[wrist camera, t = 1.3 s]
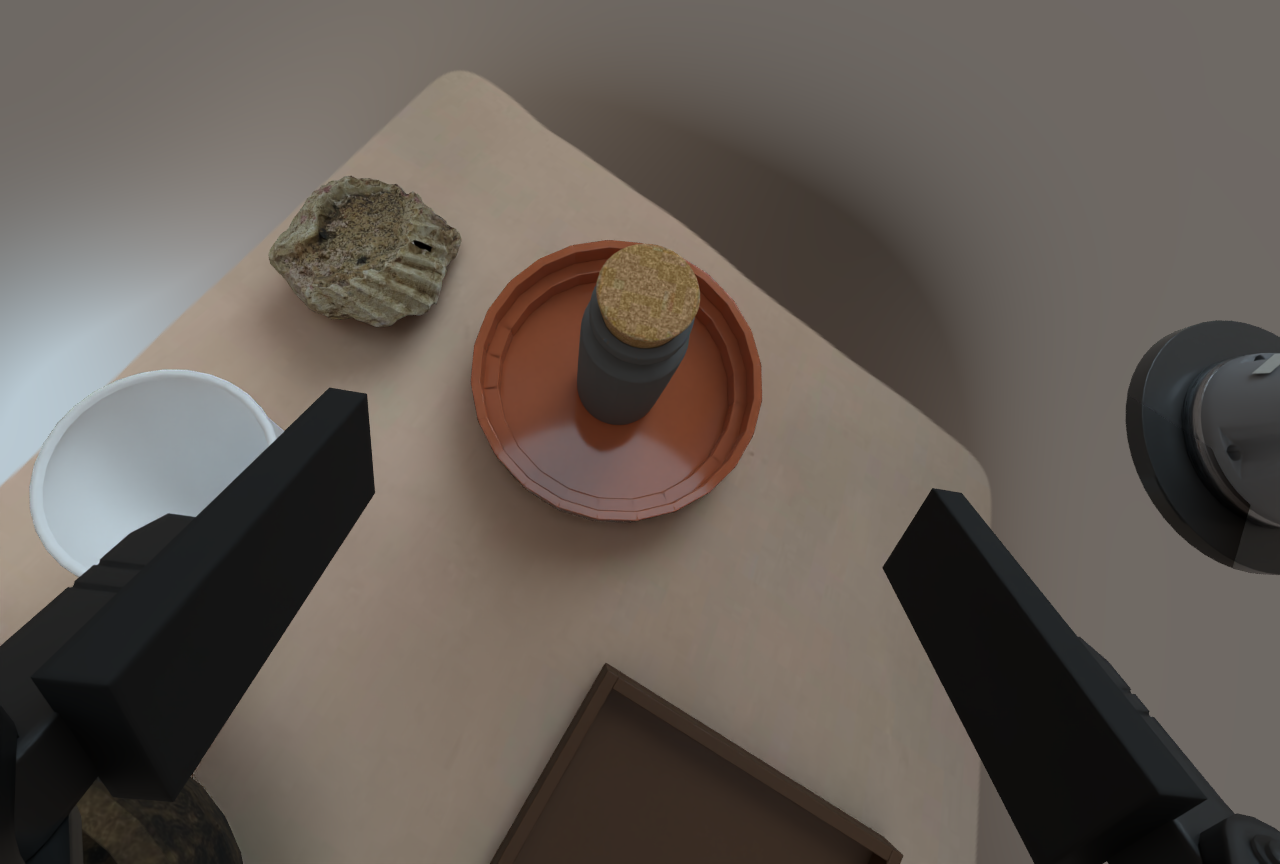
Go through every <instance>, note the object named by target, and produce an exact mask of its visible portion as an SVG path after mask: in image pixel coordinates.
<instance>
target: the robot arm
mask: <svg viewBox="0 0 1280 864" xmlns="http://www.w3.org/2000/svg"><path fill="white" fill-rule="evenodd" d="M1182 429H1183V436H1184V441H1185V445H1186V449H1187V452H1188V455H1189V457H1190V460H1191V462H1192V464H1193V467H1194V469H1195V470H1196V472H1197V474H1198V476H1199V477H1200V479H1201V481H1202V482H1203V484H1204V485H1205V486H1206V488H1207V489H1208V490H1209V491H1210V493H1211V494H1212V495H1213V496H1214V497H1215V498H1216V499H1217V500H1218V501H1219V502H1220V503H1221V504H1222V505H1223V506H1224V507H1226V508H1227V509H1228V510H1229V511H1231V512H1232V513H1234V514H1235V515H1237V516H1238V517H1240V518H1242V519H1244V520H1246V521H1248V522H1250V523H1253V524H1255V525H1258V526H1262V527H1266V528H1274V529H1280V353H1279V354H1278V353H1259V354H1252V355H1244V356H1239V357H1236V358H1232V359H1228V360H1225V361H1221V362H1218V363H1215V364H1213V365H1211V366H1209V367H1207V368H1206V369H1204V370H1203V371H1202V372H1201V373H1200V374H1199V375H1198V376H1197V377H1196V378H1195V379H1194V381H1193V382H1192V383H1191V385H1190V387H1189V389H1188V391H1187V394H1186V396H1185V400H1184V404H1183V410H1182ZM374 494H375V487H374V474H373V462H372V450H371V437H370V425H369V413H368V400H367V394H365V393H359V392H353V391H347V390H341V389H335V388H329V389H328V390H326V391H325V392H324V393H323V394H322V395H321V396H320V397H319V398H318V399H317V400H316V401H315V402H314V403H313V404H312V405H311V406H310V407H309V408H308V409H307V410H306V411H305V412H304V413H303V414H302V415H301V416H300V417H299V418H298V419H297V420H295V421H294V422H293V423H292V424H291V425H290V426H289V427H288V428H287V429H286V430H285V431H284V432H283V433H282V434H281V435H280V436H279V437H278V438H277V439H276V440H275V441H274V442H273V443H272V444H271V445H270V446H269V447H268V448H267V449H266V450H264V451H263V452H262V453H261V454H260V455H259V456H258V457H257V458H256V459H255V460H254V461H253V462H252V463H251V464H250V465H249V466H248V467H247V468H246V469H245V470H244V471H243V472H242V473H241V474H240V475H239V476H238V477H237V478H236V479H234V480H233V481H232V482H231V483H230V484H229V485H228V486H227V487H226V488H225V489H224V490H223V491H222V492H221V493H220V494H219V495H218V496H217V497H216V498H215V499H214V500H213V501H212V502H211V503H210V504H209V505H208V506H207V507H206V508H205V509H203V510H202V511H201V512H200V513H199V514H198V515H197V516H196V517H192V516H185V515H178V514H170V513H168V514H166V515H164V516H162V517H160V518H158V519H156V520H154V521H152V522H150V523H149V524H147V525H145V526H143V527H141V528H139V529H137V530H135V531H133V532H131V533H129V534H128V535H127V536H126V537H125V538H124V539H123V540H121V541H120V542H119V543H118V544H117V545H116V546H115V547H113V548H112V549H111V550H110V551H109V552H108V553H106V554H105V555H104V556H103V557H102V558H101V559H100V562H99V564H98V565H93V566H92V567H90V568H89V569H88V570H87V571H86V572H85V573H84V574H82V575H81V576H80V577H79V578H78V579H77V580H76V581H74V582H75V583H74V586H73V587H71V588H69V587H68V588H66V589H65V590H64V591H63V592H62V593H61V594H60V595H58V596H57V597H56V598H55V599H54V600H53V601H52V602H50V603H49V604H48V605H47V606H46V607H45V608H44V609H42V610H41V611H40V612H39V613H38V614H37V615H36V616H34V617H33V618H32V619H31V620H30V621H29V622H28V623H26V624H25V625H24V626H23V627H22V628H21V629H19V630H18V631H17V632H16V633H15V634H14V635H13V636H11V637H10V638H9V639H8V640H7V641H6V642H5V643H3V644H2V645H1V646H0V864H83V844H82V821H81V814H80V812H79V809H78V807H77V803H78V802H79V800H80V799H81V798H82V796H83V795H84V794H85V793H86V791H87V790H88V789H89V787H90V786H91V785H92V784H93V782H94V781H95V780H96V779H97V777H99V778H100V780H101V781H102V783H103V784H104V786H105V787H106V788H107V790H108V791H109V793H110V794H111V796H112V797H117V798H129V799H141V800H153V801H165V802H174V801H175V799H176V798H177V796H178V795H179V793H180V792H181V790H182V789H183V787H184V786H185V784H186V783H187V781H188V779H189V778H190V776H191V775H192V773H193V772H194V770H195V769H196V767H197V766H198V764H199V763H200V761H201V759H202V758H203V756H204V755H205V753H206V752H207V750H208V749H209V747H210V746H211V744H212V743H213V741H214V740H215V738H216V736H217V735H218V733H219V732H220V730H221V729H222V727H223V726H224V724H225V723H226V721H227V720H228V718H229V716H230V715H231V713H232V712H233V710H234V709H235V707H236V706H237V704H238V703H239V701H240V700H241V698H242V696H243V695H244V693H245V692H246V690H247V689H248V687H249V686H250V684H251V683H252V681H253V680H254V678H255V677H256V675H257V673H258V672H259V670H260V669H261V667H262V666H263V664H264V663H265V661H266V660H267V658H268V657H269V655H270V653H271V652H272V650H273V649H274V647H275V646H276V644H277V643H278V641H279V640H280V638H281V637H282V635H283V633H284V632H285V630H286V629H287V627H288V626H289V624H290V623H291V621H292V620H293V618H294V617H295V615H296V614H297V612H298V610H299V609H300V607H301V606H302V604H303V603H304V601H305V600H306V598H307V597H308V595H309V594H310V592H311V590H312V589H313V587H314V586H315V584H316V583H317V581H318V580H319V578H320V577H321V575H322V574H323V572H324V570H325V569H326V567H327V566H328V564H329V563H330V561H331V560H332V558H333V557H334V555H335V554H336V552H337V551H338V549H339V547H340V546H341V544H342V543H343V541H344V540H345V538H346V537H347V535H348V534H349V532H350V531H351V529H352V527H353V526H354V524H355V523H356V521H357V520H358V518H359V517H360V515H361V514H362V512H363V511H364V509H365V507H366V506H367V504H368V503H369V501H370V500H371V498H372V497H373V495H374ZM883 570H884V572H885V574H886V575H887V577H888V579H889V581H890V583H891V585H892V587H893V589H894V591H895V593H896V595H897V597H898V599H899V601H900V603H901V605H902V607H903V609H904V611H905V612H906V614H907V616H908V618H909V620H910V622H911V624H912V626H913V628H914V630H915V632H916V634H917V636H918V638H919V640H920V642H921V644H922V646H923V648H924V649H925V651H926V653H927V655H928V657H929V659H930V661H931V663H932V665H933V667H934V669H935V671H936V673H937V675H938V677H939V679H940V681H941V683H942V685H943V686H944V688H945V690H946V692H947V694H948V696H949V698H950V700H951V702H952V704H953V706H954V708H955V710H956V712H957V714H958V716H959V718H960V720H961V722H962V723H963V725H964V727H965V729H966V731H967V733H968V735H969V737H970V739H971V741H972V743H973V745H974V747H975V749H976V751H977V753H978V755H979V757H980V759H981V760H982V762H983V764H984V766H985V768H986V770H987V772H988V774H989V776H990V778H991V780H992V782H993V784H994V786H995V787H996V790H997V792H998V793H999V796H1000V797H1001V799H1002V801H1003V803H1004V805H1005V807H1006V809H1007V811H1008V813H1009V815H1010V817H1011V819H1012V821H1013V823H1014V825H1015V827H1016V829H1017V830H1018V832H1019V834H1020V836H1021V838H1022V840H1023V842H1024V844H1025V846H1026V848H1027V850H1028V852H1029V854H1030V856H1031V857H1032V860H1033V862H1034V864H1103V863H1104V862H1106V861H1107V862H1108V864H1280V832H1279V831H1278V830H1277V829H1275V828H1273V827H1271V826H1269V825H1268V824H1266V823H1264V822H1262V821H1260V820H1258V819H1256V818H1254V817H1250V816H1246V815H1241V814H1234V813H1233V811H1232V810H1231V809H1230V808H1229V807H1228V806H1227V805H1226V804H1225V803H1224V801H1223V800H1222V799H1221V798H1220V797H1219V795H1218V794H1217V793H1216V792H1215V790H1214V789H1213V788H1212V787H1211V786H1210V785H1209V783H1208V782H1207V781H1206V780H1205V779H1204V777H1203V776H1202V775H1201V773H1200V772H1199V771H1198V770H1197V769H1196V767H1195V766H1194V765H1193V764H1192V763H1191V761H1190V760H1189V759H1188V758H1187V756H1186V755H1185V754H1184V753H1183V752H1182V750H1180V748H1179V747H1178V746H1177V744H1176V743H1175V742H1174V741H1173V739H1172V738H1171V737H1170V736H1169V735H1168V734H1167V732H1166V731H1165V730H1164V729H1163V727H1162V726H1161V725H1160V724H1159V723H1158V721H1157V720H1156V719H1155V718H1154V717H1150V716H1149V710H1148V709H1147V708H1146V707H1145V706H1144V705H1143V703H1142V702H1141V701H1140V699H1138V697H1137V696H1136V695H1135V694H1131V692H1130V690H1131V689H1130V687H1129V686H1128V685H1127V684H1126V682H1125V681H1124V680H1123V679H1122V678H1121V676H1120V675H1119V674H1118V673H1117V672H1116V670H1115V669H1114V668H1113V667H1112V665H1111V664H1110V663H1109V662H1108V661H1107V660H1106V659H1105V658H1103V657H1102V656H1101V655H1100V654H1099V653H1098V652H1097V651H1095V650H1094V649H1093V648H1092V647H1091V646H1090V645H1088V644H1087V643H1086V642H1085V641H1084V640H1083V639H1082V638H1080V637H1077V636H1076V634H1075V633H1074V632H1073V631H1072V629H1071V628H1070V627H1069V626H1068V624H1067V623H1066V622H1065V621H1064V620H1063V619H1062V617H1061V616H1060V615H1059V613H1058V612H1057V611H1056V610H1055V608H1054V607H1053V606H1052V605H1051V603H1050V602H1049V601H1048V600H1047V598H1046V597H1045V596H1044V595H1043V593H1042V592H1041V591H1040V590H1039V588H1038V587H1037V586H1036V585H1035V584H1034V582H1033V581H1032V580H1031V579H1030V577H1029V576H1028V575H1027V574H1026V572H1025V571H1024V570H1023V569H1022V567H1021V566H1020V565H1019V564H1018V562H1017V561H1016V560H1015V559H1014V557H1013V556H1012V555H1011V554H1010V552H1009V551H1008V550H1007V549H1006V548H1005V546H1004V545H1003V544H1002V543H1001V541H1000V540H999V539H998V538H997V536H996V535H995V534H994V533H993V531H992V530H991V529H990V528H989V526H988V525H987V524H986V523H985V521H984V520H983V519H982V518H981V516H980V515H979V514H978V513H977V511H976V510H975V509H974V508H973V506H972V505H971V504H970V503H969V502H968V500H967V499H966V498H965V497H964V495H963V494H962V493H958V492H952V491H946V490H940V489H934V488H932V490H931V492H930V493H929V495H928V496H927V498H926V499H925V501H924V503H923V504H922V506H921V507H920V509H919V511H918V512H917V514H916V515H915V517H914V518H913V520H912V522H911V523H910V525H909V526H908V528H907V530H906V531H905V533H904V534H903V536H902V538H901V539H900V541H899V542H898V544H897V545H896V547H895V549H894V550H893V552H892V553H891V555H890V557H889V558H888V560H887V561H886V563H885V564H884V566H883Z"/></svg>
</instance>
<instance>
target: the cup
mask: <svg viewBox="0 0 1280 864" xmlns="http://www.w3.org/2000/svg"><path fill="white" fill-rule="evenodd" d="M283 432H284V430H283V429H281V428H280V427H279V426H278V425H277V424H276V423H275V422H274V421H272V420H271V419H270V418H269V417H268V416H267V415H266V413H265V412H264V410H263V409H262V408H261V406H260V405H259V404H258V403H257V402H256V401H255V400H254V399H253V398H252V397H251V396H250V395H249V394H247V393H246V392H244V391H243V390H241V389H240V388H238V387H237V386H235V385H234V384H232V383H231V382H228V381H226V380H223V379H221V378H218V377H216V376H213V375H211V374H206V373H201V372H196V371H191V370H169V369H164V370H157V371H150V372H143V373H139V374H135V375H132V376H129V377H126V378H123V379H119V380H117V381H115V382H113V383H111V384H109V385H107V386H105V387H103V388H101V389H99V390H97V391H95V392H93V393H92V394H90V395H89V396H88V397H86V398H85V399H83V400H82V401H81V402H79V403H78V404H77V405H75V406H74V407H73V408H72V409H71V410H70V411H69V412H68V413H67V414H66V415H65V416H64V417H63V418H62V419H61V420H60V421H59V422H58V423H57V425H56V426H55V428H54V429H53V430H52V432H51V433H50V435H49V436H48V438H47V439H46V440H45V442H44V443H43V446H42V448H41V450H40V453H39V455H38V457H37V459H36V462H35V464H34V468H33V473H32V478H31V482H30V512H31V515H32V519H33V523H34V527H35V530H36V532H37V534H38V536H39V538H40V540H41V541H42V543H43V545H44V547H45V549H46V550H47V551H48V552H49V553H50V554H51V555H52V556H53V558H54V559H55V560H56V561H57V562H58V563H59V564H60V565H61V566H62V567H64V568H65V569H67V570H68V571H70V572H71V573H73V574H74V575H76V576H77V577H80V576H81V575H82V574H84V573H85V572H86V571H87V570H88V569H89V568H90V567H92V566H93V565H98V564H99V562H100V559H101V558H102V557H103V556H104V555H105V554H106V553H108V552H109V551H110V550H111V549H112V548H113V547H115V546H116V545H117V544H118V543H119V542H120V541H121V540H123V539H124V538H125V537H126V536H127V535H128V534H129V533H131V532H133V531H135V530H137V529H139V528H141V527H143V526H145V525H147V524H149V523H150V522H152V521H154V520H156V519H158V518H160V517H162V516H164V515H166V514H168V513H170V514H178V515H185V516H192V517H196V516H197V515H198V514H199V513H200V512H201V511H202V510H203V509H205V508H206V507H207V506H208V505H209V504H210V503H211V502H212V501H213V500H214V499H215V498H216V497H217V496H218V495H219V494H220V493H221V492H222V491H223V490H224V489H225V488H226V487H227V486H228V485H229V484H230V483H231V482H232V481H233V480H234V479H236V478H237V477H238V476H239V475H240V474H241V473H242V472H243V471H244V470H245V469H246V468H247V467H248V466H249V465H250V464H251V463H252V462H253V461H254V460H255V459H256V458H257V457H258V456H259V455H260V454H261V453H262V452H263V451H264V450H266V449H267V448H268V447H269V446H270V445H271V444H272V443H273V442H274V441H275V440H276V439H277V438H278V437H279V436H280V435H281V434H282V433H283Z"/></svg>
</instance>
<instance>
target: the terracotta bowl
mask: <svg viewBox="0 0 1280 864" xmlns="http://www.w3.org/2000/svg"><path fill="white" fill-rule="evenodd" d="M637 244H644V243H635V242H624V241H614V240H605V241H598V242H591V243H584V244H577V245H573V246H569V247H567V248H564V249H562V250H560V251H557V252H555V253H552V254H550V255H547V256H545V257H543V258H540V259H538V260H537V261H536V262H534V263H533V264H532V265H530V266H529V267H528V268H527V269H525V270H524V271H523V272H521V273H520V274H519V275H517V276H516V277H515V278H513V279H512V280H511V281H510V282H509V283H508V284H507V286H506V287H505V288H504V290H503V291H502V292H501V294H500V295H499V296H498V297H497V299H496V300H495V301H494V303H493V304H492V305H491V307H490V308H489V309H488V311H487V313H486V316H485V319H484V321H483V324H482V326H481V329H480V331H479V334H478V336H477V339H476V341H475V345H474V352H473V362H472V373H471V387H472V392H473V397H474V403H475V408H476V413H477V418H478V422H479V424H480V426H481V428H482V430H483V432H484V434H485V436H486V438H487V440H488V442H489V444H490V446H491V448H492V450H493V451H494V453H495V455H496V457H497V458H498V459H499V460H500V462H501V463H502V464H503V465H504V466H505V467H506V468H507V470H508V471H509V472H510V473H511V474H512V475H513V476H514V477H515V478H516V479H517V480H518V482H519V483H520V484H521V485H522V486H523V487H524V488H525V489H526V490H527V491H528V492H530V493H531V494H533V495H535V496H536V497H538V498H539V499H541V500H543V501H544V502H546V503H547V504H549V505H551V506H552V507H554V508H555V509H557V510H559V511H562V512H565V513H569V514H572V515H575V516H578V517H582V518H585V519H588V520H591V521H597V522H630V523H631V522H636V521H640V520H644V519H648V518H652V517H657V516H661V515H665V514H669V513H672V512H675V511H678V510H679V509H681V508H683V507H685V506H687V505H688V504H690V503H692V502H694V501H695V500H697V499H699V498H701V497H703V496H704V495H706V494H708V493H709V492H711V491H712V490H713V489H714V488H715V487H716V486H717V485H718V484H719V483H720V482H721V481H722V480H723V479H724V478H725V477H726V476H727V475H728V474H729V473H730V472H731V471H732V470H733V469H734V468H735V466H736V465H737V463H738V461H739V460H740V458H741V456H742V454H743V452H744V451H745V449H746V447H747V445H748V444H749V442H750V440H751V438H752V437H753V434H754V430H755V426H756V422H757V418H758V414H759V410H760V406H761V402H762V378H761V362H760V359H759V355H758V352H757V349H756V345H755V342H754V338H753V335H752V331H751V329H750V327H749V326H748V324H747V322H746V320H745V319H744V317H743V315H742V314H741V312H740V310H739V308H738V307H737V305H736V303H735V302H734V300H733V299H732V298H731V297H730V296H729V295H728V294H727V293H726V292H725V291H724V290H723V289H722V288H721V287H720V286H719V285H718V284H717V282H716V281H715V280H714V279H713V278H712V277H711V276H710V275H708V274H707V273H706V272H704V271H703V270H701V269H699V268H698V267H696V266H695V265H693V264H691V263H690V262H688V261H687V260H685V259H684V258H683V259H684V260H685V261H686V262H687V263H688V265H689V266H690V267H691V269H692V270H693V272H694V274H695V276H696V278H697V281H698V284H699V289H700V304H699V309H698V311H697V314H696V316H695V319H694V324H693V327H692V330H691V333H690V337H689V344H688V348H687V351H686V353H685V356H684V358H683V360H682V361H681V363H680V365H679V367H678V368H677V370H676V371H675V373H674V375H673V376H672V378H671V380H670V381H669V383H668V384H667V386H666V387H665V389H664V390H663V392H662V393H661V395H660V397H659V398H658V400H657V401H656V403H655V404H654V406H653V407H652V408H651V409H650V411H649V412H648V413H647V414H646V415H645V416H644V417H642V418H641V419H639V420H637V421H635V422H632V423H629V424H625V425H612V424H608V423H604V422H602V421H600V420H598V419H597V418H595V417H593V416H592V415H591V414H590V413H589V412H588V411H587V410H586V409H585V407H584V406H583V404H582V402H581V400H580V397H579V394H578V389H577V373H578V355H579V342H580V330H581V322H582V318H583V314H584V311H585V309H586V307H587V305H588V303H589V302H590V300H591V296H592V292H593V290H594V287H595V286H596V284H597V279H598V275H599V272H600V270H601V268H602V267H603V265H604V264H605V262H606V261H607V260H608V259H609V258H610V257H611V256H612V255H613V254H615V253H616V252H618V251H619V250H621V249H623V248H626V247H628V246H632V245H637Z"/></svg>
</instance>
